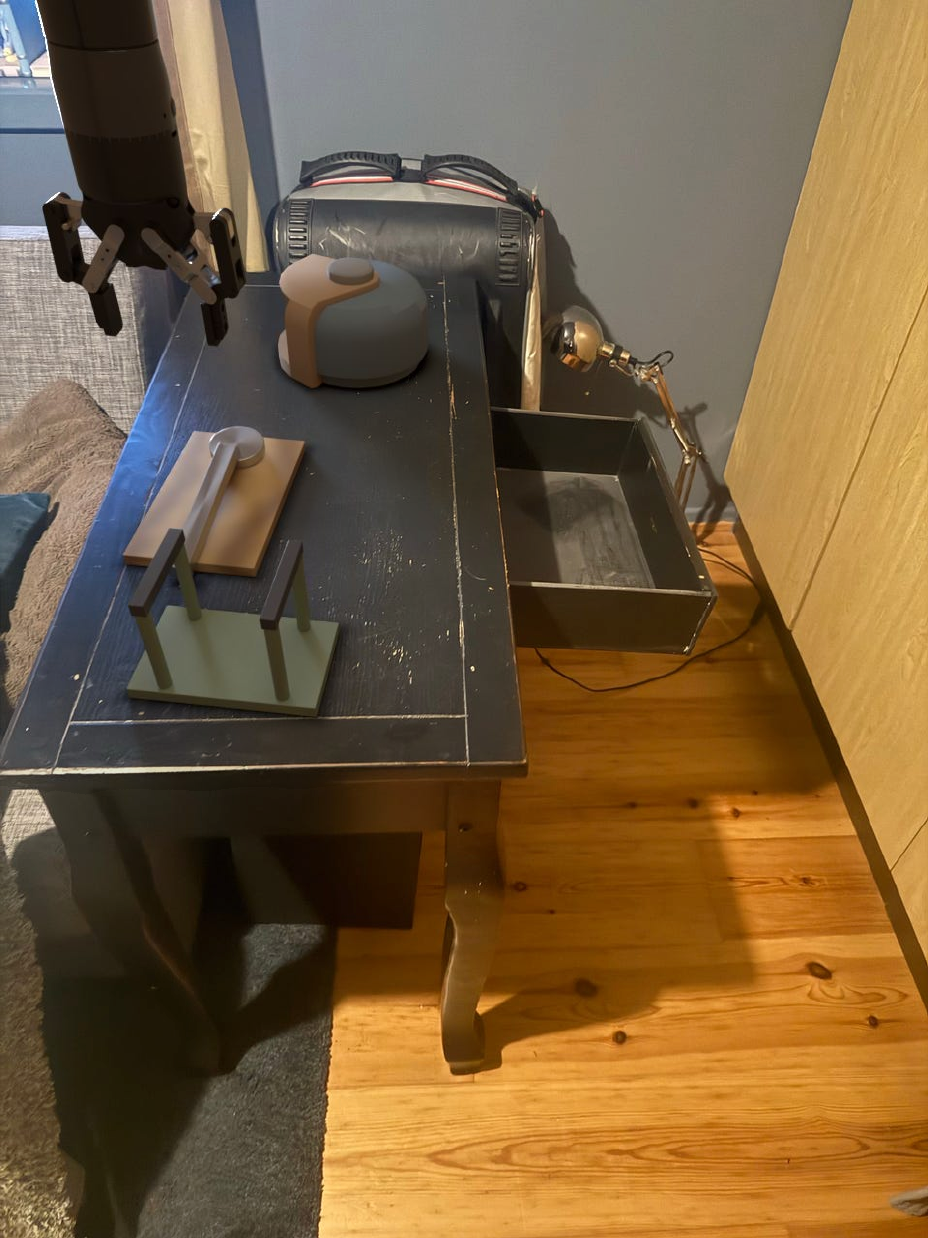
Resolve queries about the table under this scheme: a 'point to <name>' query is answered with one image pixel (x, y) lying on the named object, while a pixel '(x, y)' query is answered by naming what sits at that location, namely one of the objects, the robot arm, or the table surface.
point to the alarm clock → (351, 322)
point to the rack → (231, 643)
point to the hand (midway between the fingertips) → (165, 337)
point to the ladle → (218, 484)
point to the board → (222, 507)
